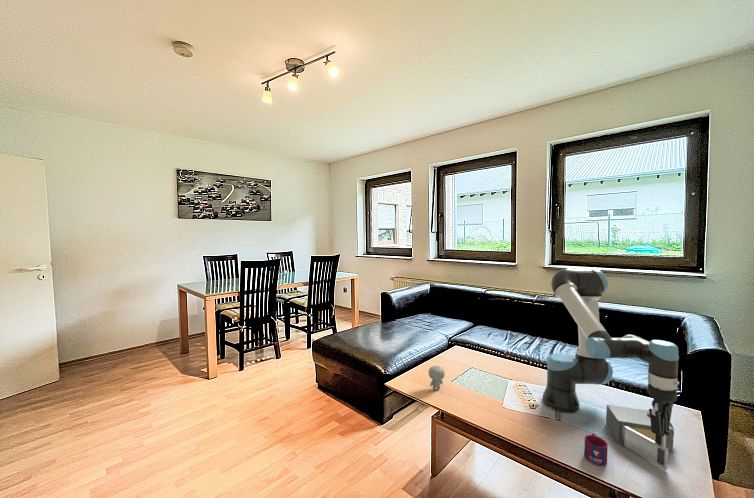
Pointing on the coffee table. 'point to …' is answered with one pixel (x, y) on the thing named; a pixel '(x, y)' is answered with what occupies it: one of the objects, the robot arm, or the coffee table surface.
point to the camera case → (633, 423)
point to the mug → (595, 450)
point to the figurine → (436, 376)
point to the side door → (645, 447)
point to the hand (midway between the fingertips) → (659, 451)
